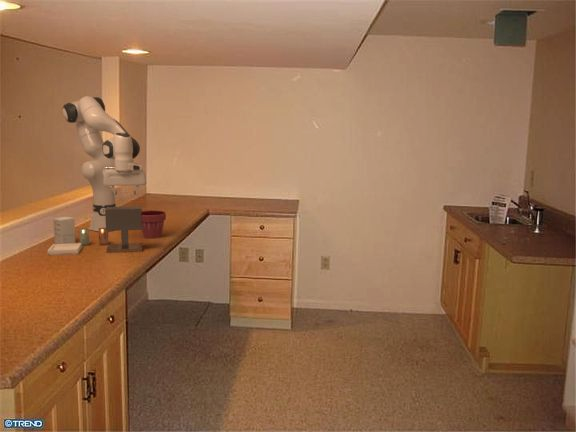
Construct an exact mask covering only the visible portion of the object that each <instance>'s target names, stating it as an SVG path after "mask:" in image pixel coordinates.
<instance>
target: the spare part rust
mask: <svg viewBox="0 0 576 432" xmlns="http://www.w3.org/2000/svg"><path fill="white" fill-rule="evenodd" d="M97 232H98V246H101V247H102V246H108V245H109V244H110V242H109V241H110V240H109V231H106V228H99V229H98V231H97Z"/></svg>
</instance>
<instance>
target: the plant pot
mask: <svg viewBox="0 0 576 432" xmlns="http://www.w3.org/2000/svg"><path fill="white" fill-rule="evenodd" d="M166 215H167V214H166V211H163V210H143V211H142V230H141V232H142V235H143V238H145V239H158V238H161V237H162V233H163V230H164V223H165V221H166V219H167V216H166Z"/></svg>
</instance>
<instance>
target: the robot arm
mask: <svg viewBox="0 0 576 432" xmlns="http://www.w3.org/2000/svg"><path fill="white" fill-rule="evenodd" d="M62 115H63V118H64V119H65V121H66V122H68V123H69V124H70V123H71V124H73V123H75V127H76V132H77V134H78V139H79V141H80V143H81V147H82V149H83V151H84V152H85V154H86V155H87V156H90V157H91V158H92V159H91V160H88V161H85V162H83V164H82V166H81V168H80V169H81V174H82V177H83V178H84V179H86V180H87V181H88V183H89V184H90V186H91V187H90V188H91V189H92V196H93V204H92V211H93V212H92V213H91V214H90V226H88V227H87V228H88V229H89V231H94V232H98V229H99V228H106V218H105V209H106V207H117V205H116V202H115V199H116V198H115V197H116V196H118V190H116V189H115V187H119V186H121V187H122V186H124V187H125V186H135V188H136V189H135V190H133V195H138V190H139V188H140V186H145V185H146V184H147V177H146V173H145V171H144V166H143V164H140V163H139V164H138V163H136V162H134V159H136V158H137V156H138V155H139V153H140V150H141V146H140V144H139V142H138V141H137V140H136V139H135V138H133V136H131V135H130V134H129V133H128V131H126V129H125V128H124V127H123V126H122V124H121V123H120V122H119V121H118V120H117V119H115V118H114V117H112V116H110V115H109V114H108V113H107V112H106V105H105V102H104V101H103V99H102V98H101V97H98V96H97V97H95V96H90V95H86V96H82V97H81V98H80V99H78V100H76V101H71V102H67V103H66V104H63V106H62ZM101 132H106V133H109V134H111V135H113V137H111V138H110V139H107V140H105V141H104V140H103V138H102V135H101Z"/></svg>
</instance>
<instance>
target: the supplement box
mask: <svg viewBox="0 0 576 432" xmlns="http://www.w3.org/2000/svg"><path fill="white" fill-rule="evenodd" d="M75 226H76V225H75V218H74V217H72V216H71V217H70V216H62V217H61V216H60V217H54V218H53V233H54V234H53V235H54V244H71V243H77V242H76V228H75Z"/></svg>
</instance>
